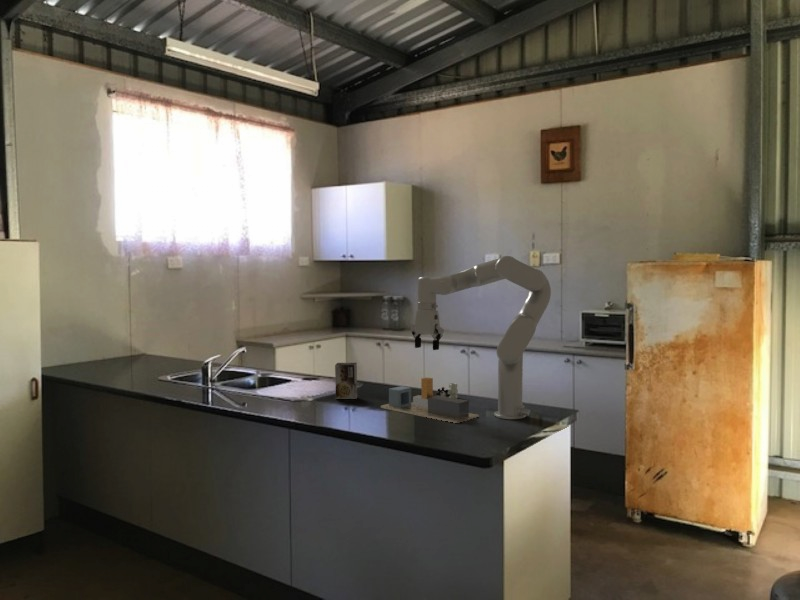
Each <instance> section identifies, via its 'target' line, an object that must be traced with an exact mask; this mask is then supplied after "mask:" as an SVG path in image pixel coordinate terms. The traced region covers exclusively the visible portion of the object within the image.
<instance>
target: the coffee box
mask: <svg viewBox="0 0 800 600" xmlns="http://www.w3.org/2000/svg"><path fill="white" fill-rule="evenodd" d="M357 367H358V366H357V362H337V363H336V364H335V365H334V374H335V375H334V376H335V377H334V378H335V380H334V381H335V400H336V399H356V400H357V398H358V384H357V383H358V377H357V376H358V374H357V371H358V370H357Z"/></svg>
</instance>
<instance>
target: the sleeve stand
mask: <svg viewBox="0 0 800 600" xmlns="http://www.w3.org/2000/svg"><path fill="white" fill-rule="evenodd" d="M469 404H470V403H469V400H466V399H461V398H450V397H446V396H445V397H444V396H441V395H440V396H439V395H433V396H432V397H428V409H425V408H420V407H415V406H413V401H411V404H409V405H405V406H400V407H396V406H391V405H389V403H387V404H382V405H380V408H381V409H383V410H384V409H385V410H388V411H394V412H398V413H403V414H407V415H411V416H418V417H423V418H426V417H427V419H431V418H432V420H436V419H437V420H436V421H441V420H442V422H445V421H448V422H447V423H450V422H453V423H452V424H455V423H458V424H461V423H460V422H462V423H464V422H463V421H465V422H468V421H471V420H470V419H472V420H474V419H473V418H475V419H478V418H477V417H479V418H480V414H477V413H471V412H469V411H470V410H469V409H470V408H469V407H470V405H469ZM467 420H468V421H467Z"/></svg>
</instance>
